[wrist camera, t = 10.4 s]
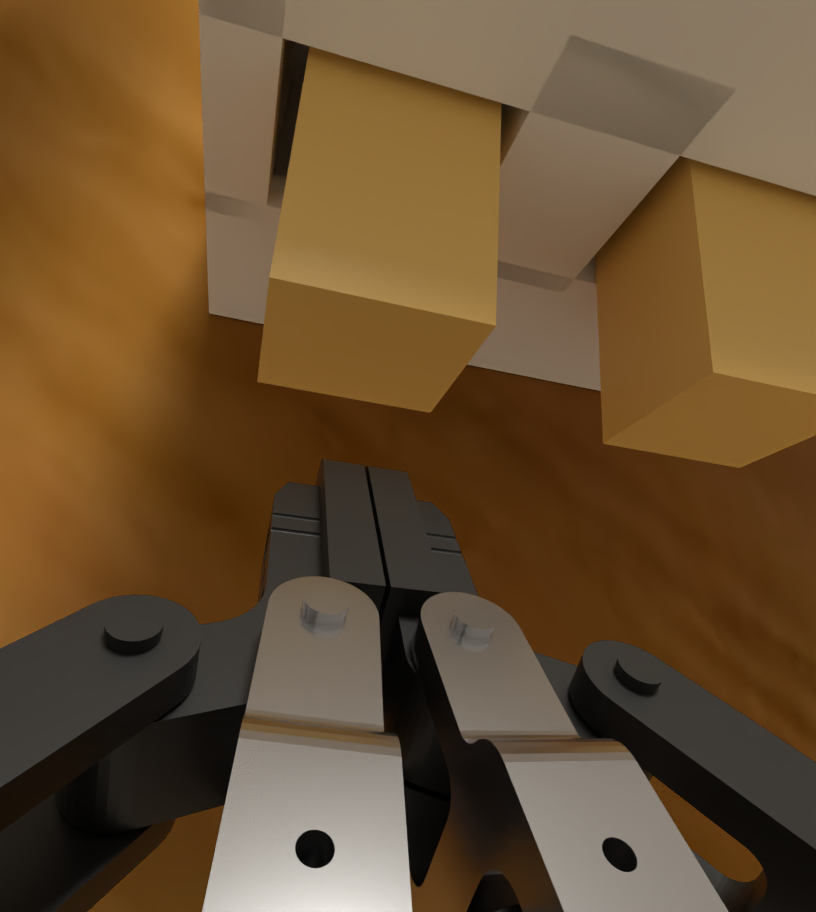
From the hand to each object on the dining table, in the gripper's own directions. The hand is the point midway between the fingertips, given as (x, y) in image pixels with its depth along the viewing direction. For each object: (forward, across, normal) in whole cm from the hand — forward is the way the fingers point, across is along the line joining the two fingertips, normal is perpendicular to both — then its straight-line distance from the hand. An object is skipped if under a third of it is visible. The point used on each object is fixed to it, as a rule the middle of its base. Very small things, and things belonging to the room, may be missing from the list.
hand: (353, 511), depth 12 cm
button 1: (+6, 0, +3) cm, 7 cm away
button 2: (+6, +8, +3) cm, 11 cm away
